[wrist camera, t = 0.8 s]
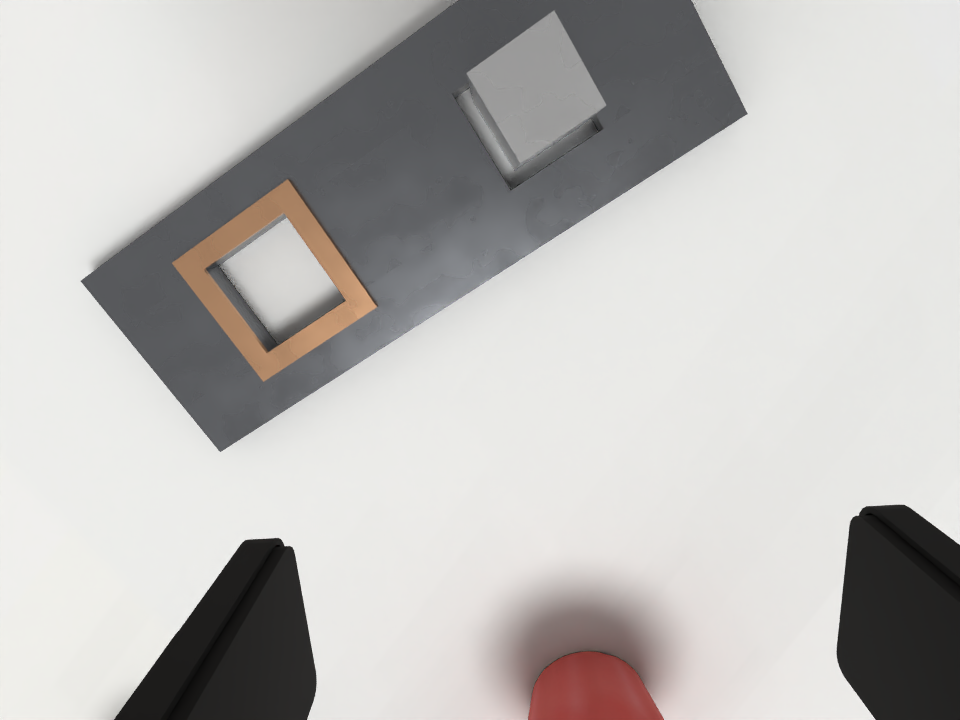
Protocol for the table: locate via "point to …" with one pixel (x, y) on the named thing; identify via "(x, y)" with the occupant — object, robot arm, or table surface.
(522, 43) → the steel rectangular block
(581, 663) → the flower pot
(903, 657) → the robot arm
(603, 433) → the table surface
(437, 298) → the grey board with holes
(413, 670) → the table surface
